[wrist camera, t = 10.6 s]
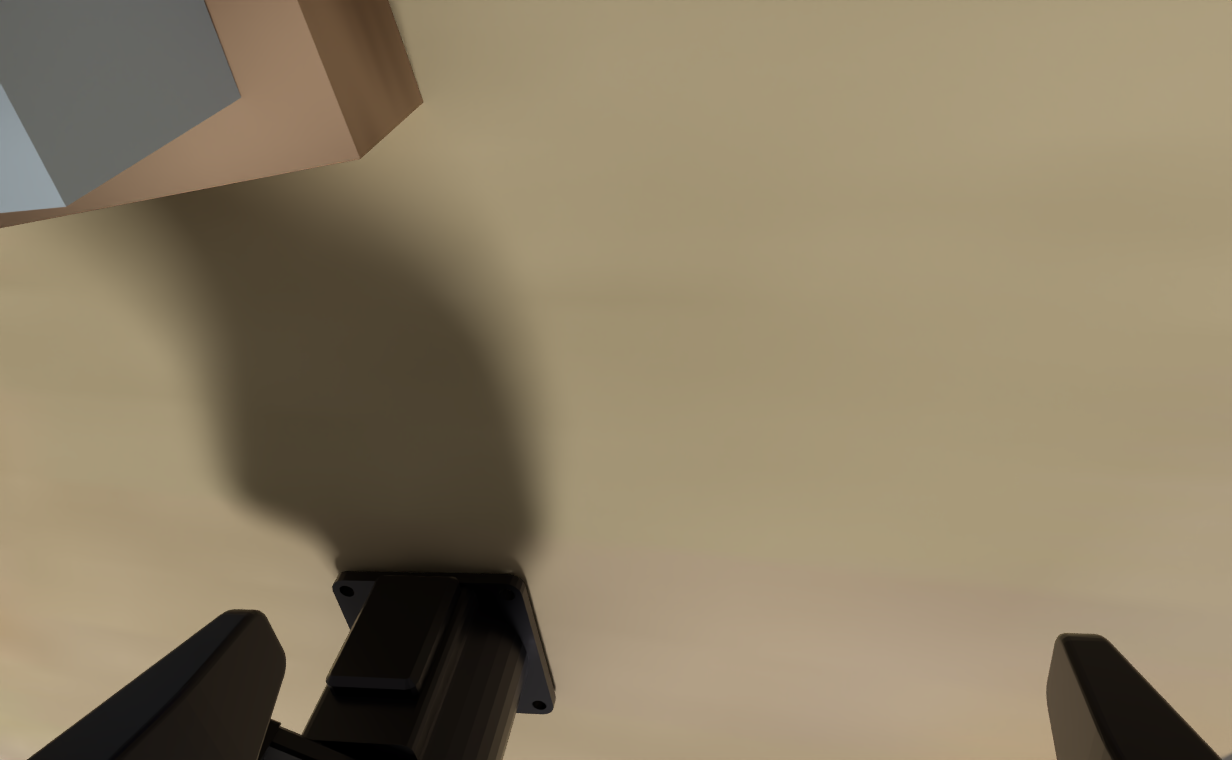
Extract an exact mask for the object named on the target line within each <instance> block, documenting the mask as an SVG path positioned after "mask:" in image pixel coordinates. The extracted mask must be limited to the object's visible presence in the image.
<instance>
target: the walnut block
mask: <svg viewBox="0 0 1232 760" xmlns="http://www.w3.org/2000/svg"><path fill="white" fill-rule="evenodd" d="M204 2H205V5H206V8H207V10H208V13H209V15H210V18H211V21H212V23H213V26H214V28H215V31H216V34H217V36H218V39H219V41H220V44H221V46H222V49H223V52H224V54H225V57H226V59H227V62H228V65H229V67H230V70H231V72H232V75H233V78H234V80H235V83H236V85H237V88H238V91H239V93H240V96H241V98H240V99H238V100H237V101H235V102H233V103H232V104H230V105H229V106H227V107H225V108H224V109H222V110H221V111H219V112H217V113H216V114H214V115H213V116H211V117H209V118H208V119H206V120H205V121H203V122H201V123H200V124H198V125H196V126H195V127H193V128H192V129H190V130H188V131H187V132H185V133H184V134H182V135H180V136H179V137H177V138H176V139H174V140H172V141H171V142H169V143H168V144H166V145H164V146H163V147H161V148H160V149H158V150H156V151H155V152H153V153H152V154H150V155H148V156H147V157H145V158H144V159H142V160H140V161H139V162H137V163H135V164H134V165H132V166H131V167H129V168H127V169H126V170H124V171H123V172H121V173H119V174H118V175H116V176H115V177H113V178H111V179H110V180H108V181H107V182H105V183H103V184H102V185H100V186H99V187H97V188H95V189H94V190H92V191H91V192H89V193H87V194H86V195H84V196H82V197H81V198H79V199H78V200H76V201H74V202H73V203H71V204H70V205H68V206H66V207H58V208H48V209H37V210H27V211H16V212H6V213H0V228H4V227H9V226H14V225H19V224H24V223H30V222H35V221H40V220H45V219H50V218H56V217H61V216H66V215H71V214H76V213H82V212H87V211H92V210H97V209H102V208H108V207H113V206H118V205H123V204H128V203H134V202H139V201H144V200H149V199H154V198H160V197H165V196H170V195H175V194H180V193H186V192H191V191H196V190H201V189H206V188H212V187H217V186H222V185H227V184H232V183H238V182H243V181H248V180H253V179H258V178H264V177H269V176H274V175H279V174H284V173H290V172H295V171H300V170H305V169H310V168H316V167H321V166H326V165H331V164H336V163H342V162H347V161H352V160H357V159H361V158H362V157H363V156H364V155H365V154H366V153H367V152H368V151H370V150H371V149H372V148H373V147H374V146H375V145H376V144H377V143H379V142H380V141H381V140H382V139H383V138H384V137H385V136H386V135H387V134H389V133H390V132H391V131H392V130H393V129H394V128H395V127H396V126H397V125H399V124H400V123H401V122H402V121H403V120H404V119H405V118H406V117H408V116H409V115H410V114H411V113H412V112H413V111H414V110H415V109H416V108H418V107H419V106H420V105H421V104H422V103H423V100H422V97H421V94H420V91H419V88H418V85H417V82H416V79H415V77H414V74H413V71H412V68H411V65H410V62H409V59H408V56H407V53H406V51H405V48H404V45H403V42H402V39H401V36H400V33H399V30H398V27H397V25H396V22H395V19H394V16H393V13H392V10H391V7H390V4H389V1H388V0H204Z"/></svg>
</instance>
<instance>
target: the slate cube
mask: <svg viewBox="0 0 1232 760" xmlns="http://www.w3.org/2000/svg"><path fill="white" fill-rule="evenodd" d="M240 98H241V96H240V93H239V91H238V88H237V85H236V83H235V80H234V78H233V75H232V72H231V70H230V67H229V65H228V62H227V59H226V57H225V54H224V52H223V49H222V46H221V44H220V41H219V39H218V36H217V34H216V31H215V28H214V26H213V23H212V21H211V18H210V15H209V13H208V10H207V8H206V5H205V2H204V0H0V213H6V212H16V211H27V210H37V209H48V208H58V207H66V206H68V205H70V204H71V203H73V202H74V201H76V200H78V199H79V198H81V197H82V196H84V195H86V194H87V193H89V192H91V191H92V190H94V189H95V188H97V187H99V186H100V185H102V184H103V183H105V182H107V181H108V180H110V179H111V178H113V177H115V176H116V175H118V174H119V173H121V172H123V171H124V170H126V169H127V168H129V167H131V166H132V165H134V164H135V163H137V162H139V161H140V160H142V159H144V158H145V157H147V156H148V155H150V154H152V153H153V152H155V151H156V150H158V149H160V148H161V147H163V146H164V145H166V144H168V143H169V142H171V141H172V140H174V139H176V138H177V137H179V136H180V135H182V134H184V133H185V132H187V131H188V130H190V129H192V128H193V127H195V126H196V125H198V124H200V123H201V122H203V121H205V120H206V119H208V118H209V117H211V116H213V115H214V114H216V113H217V112H219V111H221V110H222V109H224V108H225V107H227V106H229V105H230V104H232V103H233V102H235V101H237V100H238V99H240Z"/></svg>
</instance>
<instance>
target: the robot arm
mask: <svg viewBox="0 0 1232 760" xmlns="http://www.w3.org/2000/svg"><path fill="white" fill-rule="evenodd" d="M332 588H333V592H334V594H335V597H336V599H337V601H338V603H339V606H340V608H341V610H342V612H343V615H344V617H345V619H346V621H347V624H348V626H349V628H350V632H349V634H348V636H347V638H346V640H345V642H344V644H343V646H342V648H341V650H340V652H339V654H338V656H337V658H336V660H335V662H334V663H333V665H332V667H331V669H330V671H329V673H328V675H327V678H326V683H327V685H326V687H325V689H324V691H323V693H322V695H321V697H320V699H319V701H318V703H317V705H316V707H315V709H314V711H313V713H312V715H311V717H310V719H309V721H308V723H307V725H306V727H305V729H304V731H303V733H302V735H300V734H298V733H295V732H293V731H290V730H288V729H286V728H283V727H281V726H280V725H281V723H280V722H278V721H275V720H273V719H271V715H272V712H273V709H274V706H275V703H276V700H277V696H278V693H279V690H280V687H281V684H282V681H283V678H284V674H285V669H286V657H285V653H284V650H283V648H282V646H281V644H280V642H279V640H278V639H277V637H276V635H275V633H274V631H273V629H272V627H271V625H270V623H269V621H268V619H267V617H266V616H265V614H263V613H262V612H261V611H258V610H243V609H233V610H228V611H226V612H224V613H223V614H221V615H220V616H218V617H217V618H215V619H214V620H213V621H211V622H210V623H209V624H207V625H206V626H205V627H203V628H202V629H201V630H199V631H198V632H197V633H195V634H194V635H193V636H191V637H190V638H189V639H187V640H186V641H185V642H183V643H182V644H181V645H179V646H178V647H177V648H175V649H174V650H173V651H171V652H170V653H169V654H167V655H166V656H165V657H163V658H162V659H161V660H159V661H158V662H157V663H155V664H154V665H153V666H151V667H150V668H149V669H147V670H146V671H145V672H143V673H142V674H141V675H139V676H138V677H137V678H135V679H134V680H133V681H131V682H130V683H129V684H127V685H126V686H125V687H123V688H122V689H121V690H119V691H118V692H117V693H115V694H114V695H113V696H111V697H110V698H109V699H107V700H106V701H105V702H103V703H102V704H101V705H99V706H98V707H97V708H95V709H94V710H93V711H91V712H90V713H89V714H87V715H86V716H85V717H83V718H82V719H81V720H79V721H78V722H77V723H75V724H74V725H73V726H71V727H70V728H69V729H67V730H66V731H65V732H63V733H62V734H61V735H59V736H58V737H57V738H55V739H54V740H53V741H51V742H50V743H49V744H47V745H46V746H45V747H43V748H42V749H41V750H39V751H38V752H37V753H35V754H34V755H33V756H31V757H30V758H29V759H27V760H503V756H504V753H505V749H506V746H507V742H508V739H509V735H510V732H511V728H512V725H513V721H514V718H515V714H516V713H528V714H548V713H550V712H551V711H552V710H553V708H554V704H555V700H556V696H555V692H554V688H553V685H552V681H551V677H550V674H549V670H548V666H547V663H546V659H545V655H544V652H543V648H542V645H541V641H540V637H539V634H538V630H537V626H536V623H535V619H534V615H533V612H532V608H531V604H530V601H529V597H528V594H527V590H526V586H525V584H524V582H523V581H522V580H521V579H520V578H518V577H516V576H514V575H509V574H468V573H410V572H351V571H347V572H342V573H340V574H339V575H338V577H337V579H336V580H335V582H334V584H333V586H332ZM507 589H508V590H507ZM509 590H511V591H509ZM1046 695H1047V706H1048V712H1049V718H1050V723H1051V729H1052V734H1053V740H1054V745H1055V751H1056V756H1057V760H1222V759H1221V758H1220V757H1219V756H1218V755H1217V754H1216V753H1215V752H1214V750H1213V749H1212V748H1211V747H1210V746H1209V745H1208V744H1207V743H1206V742H1205V741H1204V740H1203V739H1202V738H1201V737H1200V736H1199V735H1198V734H1197V733H1196V732H1195V731H1194V730H1193V728H1192V727H1191V726H1190V725H1189V724H1188V723H1187V722H1186V721H1185V720H1184V719H1183V718H1182V717H1181V716H1180V715H1179V714H1178V713H1177V712H1176V711H1175V710H1174V709H1173V708H1172V707H1171V705H1170V704H1169V703H1168V702H1167V701H1166V700H1165V699H1164V698H1163V697H1162V696H1161V695H1160V694H1159V693H1158V692H1157V691H1156V690H1155V689H1154V688H1153V687H1152V686H1151V685H1150V683H1149V682H1148V681H1147V680H1146V679H1145V678H1144V677H1143V676H1142V675H1141V674H1140V673H1139V672H1138V671H1137V670H1136V669H1135V668H1134V667H1133V666H1132V665H1131V664H1130V663H1129V661H1128V660H1127V659H1126V658H1125V657H1124V656H1123V655H1122V654H1121V653H1120V652H1119V651H1118V650H1117V649H1116V648H1115V647H1114V646H1113V645H1112V644H1111V643H1110V642H1109V641H1108V640H1107V639H1106V638H1104V637H1103V636H1100V635H1097V634H1078V633H1064V634H1060V635H1059V636H1058V637H1057V639H1056V641H1055V645H1054V650H1053V655H1052V660H1051V665H1050V670H1049V675H1048V680H1047V689H1046Z"/></svg>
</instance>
